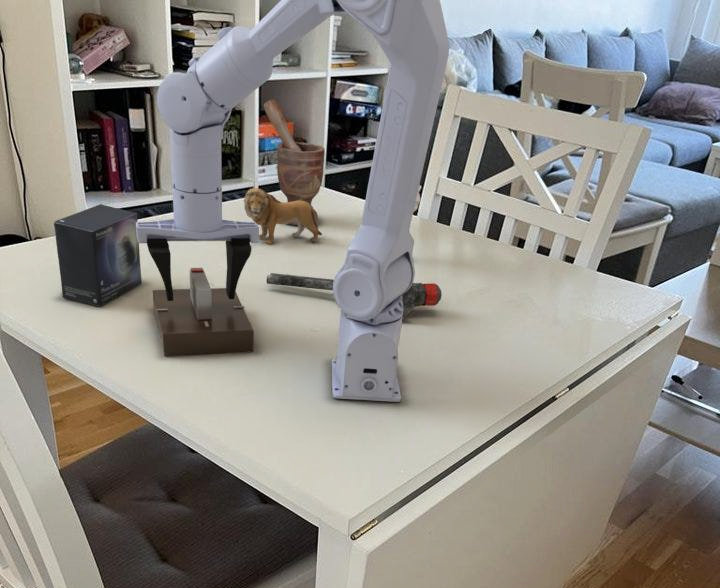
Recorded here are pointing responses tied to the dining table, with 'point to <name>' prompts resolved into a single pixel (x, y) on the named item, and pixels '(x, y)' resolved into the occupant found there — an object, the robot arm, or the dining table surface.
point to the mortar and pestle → (295, 161)
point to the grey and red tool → (412, 298)
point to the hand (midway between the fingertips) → (200, 297)
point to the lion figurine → (279, 214)
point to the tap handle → (200, 294)
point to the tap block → (201, 324)
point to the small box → (98, 254)
